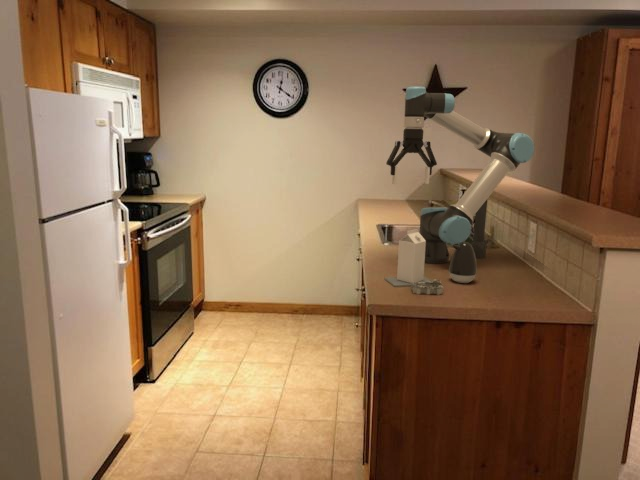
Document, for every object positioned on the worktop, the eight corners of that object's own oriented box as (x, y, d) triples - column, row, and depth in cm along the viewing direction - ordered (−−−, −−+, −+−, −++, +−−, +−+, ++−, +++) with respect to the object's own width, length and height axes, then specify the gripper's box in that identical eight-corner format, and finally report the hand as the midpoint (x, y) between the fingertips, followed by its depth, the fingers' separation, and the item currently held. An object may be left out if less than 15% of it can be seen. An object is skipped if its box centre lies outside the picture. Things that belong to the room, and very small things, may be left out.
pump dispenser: (442, 279, 204) (444, 240, 200) (464, 276, 208) (467, 238, 205) (458, 286, 194) (462, 245, 191) (481, 283, 198) (485, 243, 195)
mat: (423, 277, 206) (423, 275, 206) (435, 284, 196) (435, 283, 196) (384, 279, 202) (384, 277, 202) (394, 287, 192) (394, 285, 192)
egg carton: (440, 289, 191) (441, 278, 190) (443, 296, 183) (444, 284, 182) (410, 288, 191) (411, 277, 191) (412, 294, 184) (412, 283, 183)
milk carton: (396, 280, 199) (399, 229, 195) (407, 276, 204) (410, 227, 200) (412, 284, 194) (415, 232, 190) (423, 280, 199) (426, 230, 195)
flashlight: (481, 255, 245) (466, 255, 244) (486, 194, 239) (471, 194, 238) (488, 258, 238) (472, 258, 237) (493, 196, 232) (477, 196, 231)
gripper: (386, 127, 199) (384, 184, 203) (447, 129, 205) (444, 184, 209) (379, 127, 206) (377, 182, 210) (438, 129, 212) (435, 182, 216)
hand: (410, 183), depth 209 cm, fingers open, 13 cm apart
